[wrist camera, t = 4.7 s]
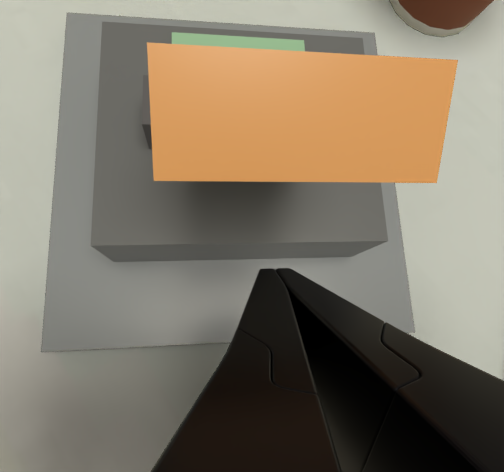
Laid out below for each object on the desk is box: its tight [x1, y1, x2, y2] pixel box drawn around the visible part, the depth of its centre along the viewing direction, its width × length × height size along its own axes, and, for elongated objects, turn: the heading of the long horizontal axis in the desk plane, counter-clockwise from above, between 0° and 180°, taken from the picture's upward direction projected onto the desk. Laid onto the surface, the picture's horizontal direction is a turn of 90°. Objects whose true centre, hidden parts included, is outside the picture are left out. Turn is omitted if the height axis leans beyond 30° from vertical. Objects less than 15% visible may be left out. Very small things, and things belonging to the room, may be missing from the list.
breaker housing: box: [41, 13, 415, 352], centre depth 18 cm, size 18×18×7 cm
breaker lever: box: [147, 42, 458, 183], centre depth 11 cm, size 2×5×9 cm, turn 92°
